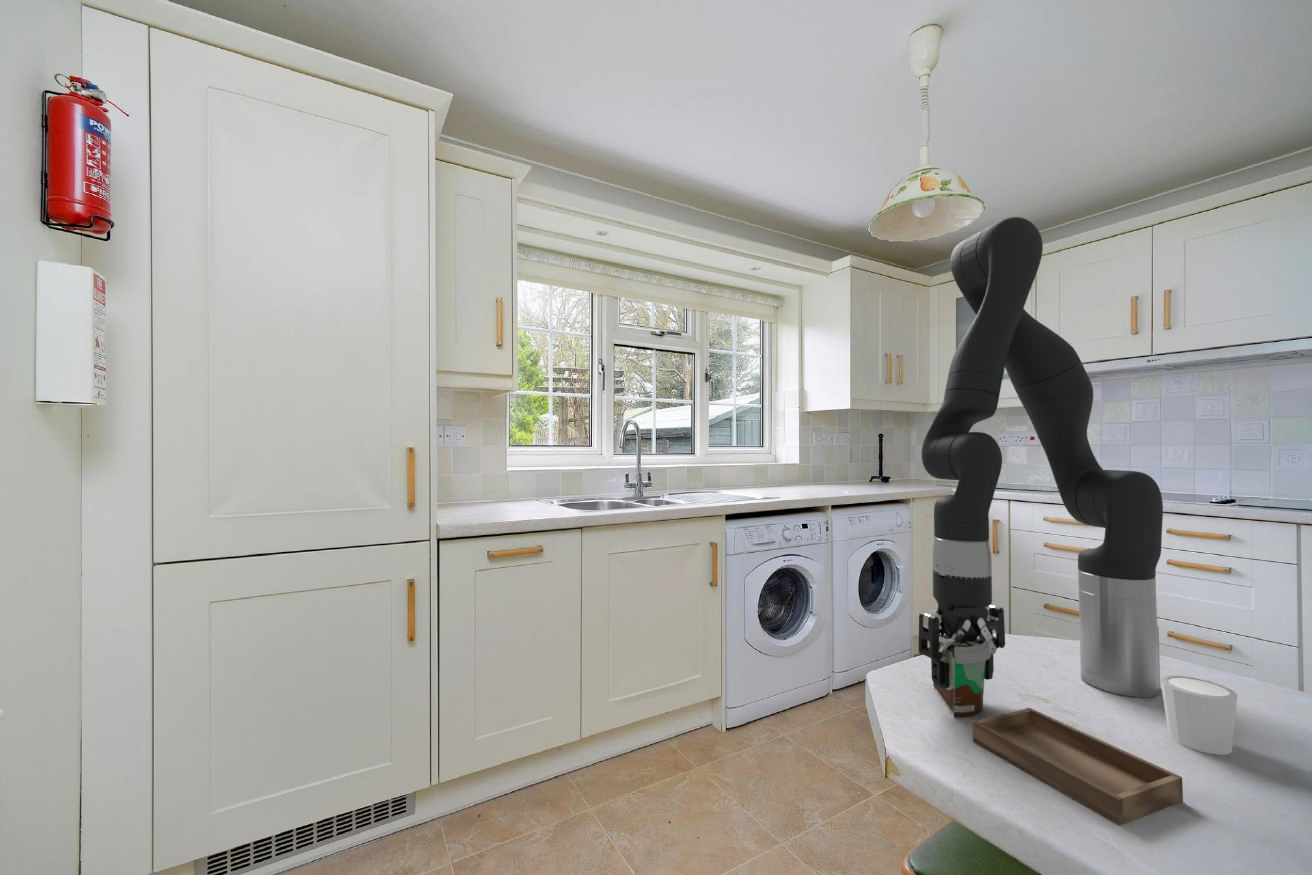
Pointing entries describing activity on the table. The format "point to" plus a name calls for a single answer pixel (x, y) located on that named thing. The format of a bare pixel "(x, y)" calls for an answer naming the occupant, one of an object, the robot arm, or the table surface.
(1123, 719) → the table surface
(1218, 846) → the table surface
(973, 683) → the food container
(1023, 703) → the table surface
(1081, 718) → the table surface
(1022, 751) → the walnut tray
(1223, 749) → the white cup
